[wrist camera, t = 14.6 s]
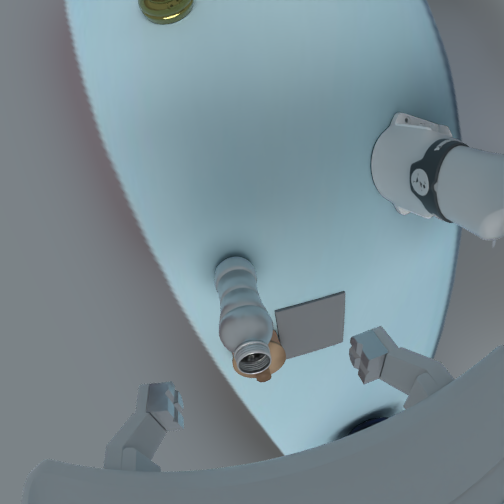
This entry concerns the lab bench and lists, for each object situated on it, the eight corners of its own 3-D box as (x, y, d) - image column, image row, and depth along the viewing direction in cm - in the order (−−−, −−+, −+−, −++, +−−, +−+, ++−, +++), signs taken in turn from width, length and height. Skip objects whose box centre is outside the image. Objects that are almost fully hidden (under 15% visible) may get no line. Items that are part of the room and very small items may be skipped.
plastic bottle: (261, 270, 45) (297, 360, 27) (230, 294, 46) (248, 389, 28) (237, 243, 42) (262, 330, 25) (204, 269, 43) (209, 364, 26)
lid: (281, 333, 46) (288, 352, 42) (287, 367, 51) (293, 385, 47) (226, 347, 46) (229, 367, 41) (239, 379, 50) (242, 398, 46)
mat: (343, 291, 50) (345, 292, 50) (341, 340, 57) (342, 341, 56) (274, 310, 49) (275, 312, 49) (282, 358, 56) (283, 360, 55)
